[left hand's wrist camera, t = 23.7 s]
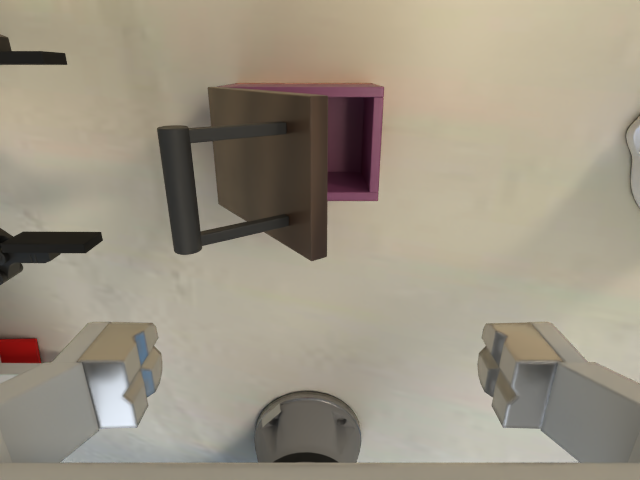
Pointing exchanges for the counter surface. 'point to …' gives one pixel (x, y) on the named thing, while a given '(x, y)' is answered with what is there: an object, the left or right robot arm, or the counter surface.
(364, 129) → the chest
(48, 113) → the counter surface
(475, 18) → the counter surface
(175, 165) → the lid
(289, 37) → the counter surface
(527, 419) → the left robot arm
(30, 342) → the toy
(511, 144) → the counter surface
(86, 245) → the right robot arm
